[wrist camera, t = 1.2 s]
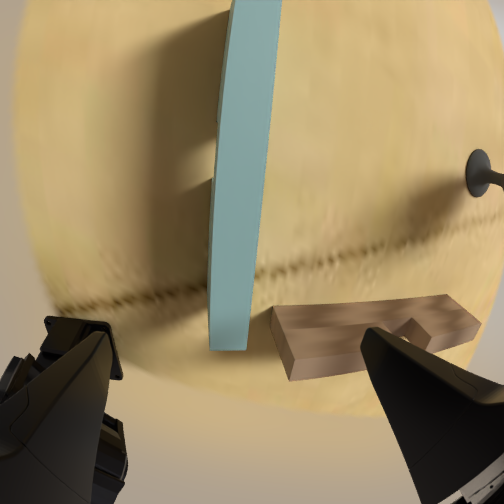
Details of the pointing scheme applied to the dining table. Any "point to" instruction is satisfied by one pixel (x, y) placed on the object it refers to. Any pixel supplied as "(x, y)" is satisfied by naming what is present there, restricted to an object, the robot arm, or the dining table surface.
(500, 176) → the sundae
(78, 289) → the dining table surface
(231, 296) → the teal slotted plate
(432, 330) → the walnut slotted plate
